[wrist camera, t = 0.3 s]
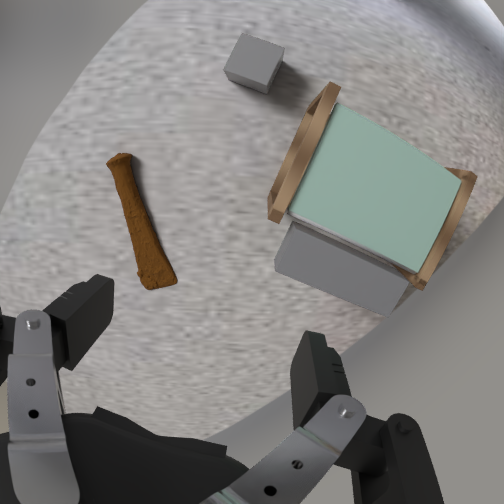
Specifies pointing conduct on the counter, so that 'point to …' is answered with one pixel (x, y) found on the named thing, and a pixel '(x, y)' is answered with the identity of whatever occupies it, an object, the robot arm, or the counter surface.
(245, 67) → the stone
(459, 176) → the wooden box frame
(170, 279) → the primitive tool
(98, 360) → the counter surface
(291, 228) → the trapdoor
